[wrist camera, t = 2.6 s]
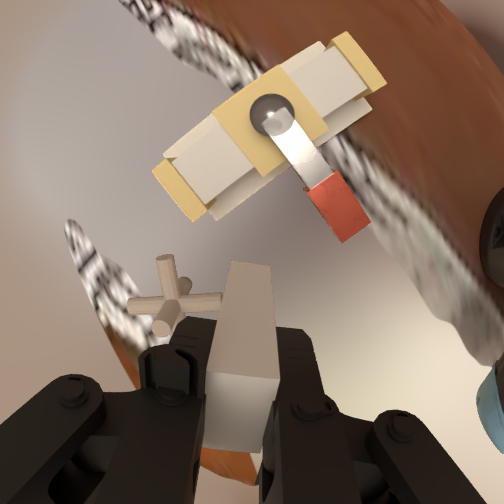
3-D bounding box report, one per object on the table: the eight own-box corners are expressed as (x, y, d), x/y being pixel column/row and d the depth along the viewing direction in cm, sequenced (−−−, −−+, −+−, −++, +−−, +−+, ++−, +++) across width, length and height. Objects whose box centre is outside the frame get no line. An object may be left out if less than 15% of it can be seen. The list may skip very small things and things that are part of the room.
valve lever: (363, 214, 23) (373, 220, 21) (333, 236, 24) (339, 244, 22) (274, 90, 21) (276, 84, 19) (242, 114, 21) (240, 110, 19)
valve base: (367, 111, 30) (405, 99, 21) (218, 218, 34) (202, 244, 25) (316, 44, 28) (336, 10, 18) (166, 154, 32) (132, 156, 23)
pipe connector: (232, 318, 38) (224, 371, 28) (154, 322, 38) (127, 371, 29) (221, 238, 34) (206, 272, 25) (136, 246, 35) (98, 280, 26)
